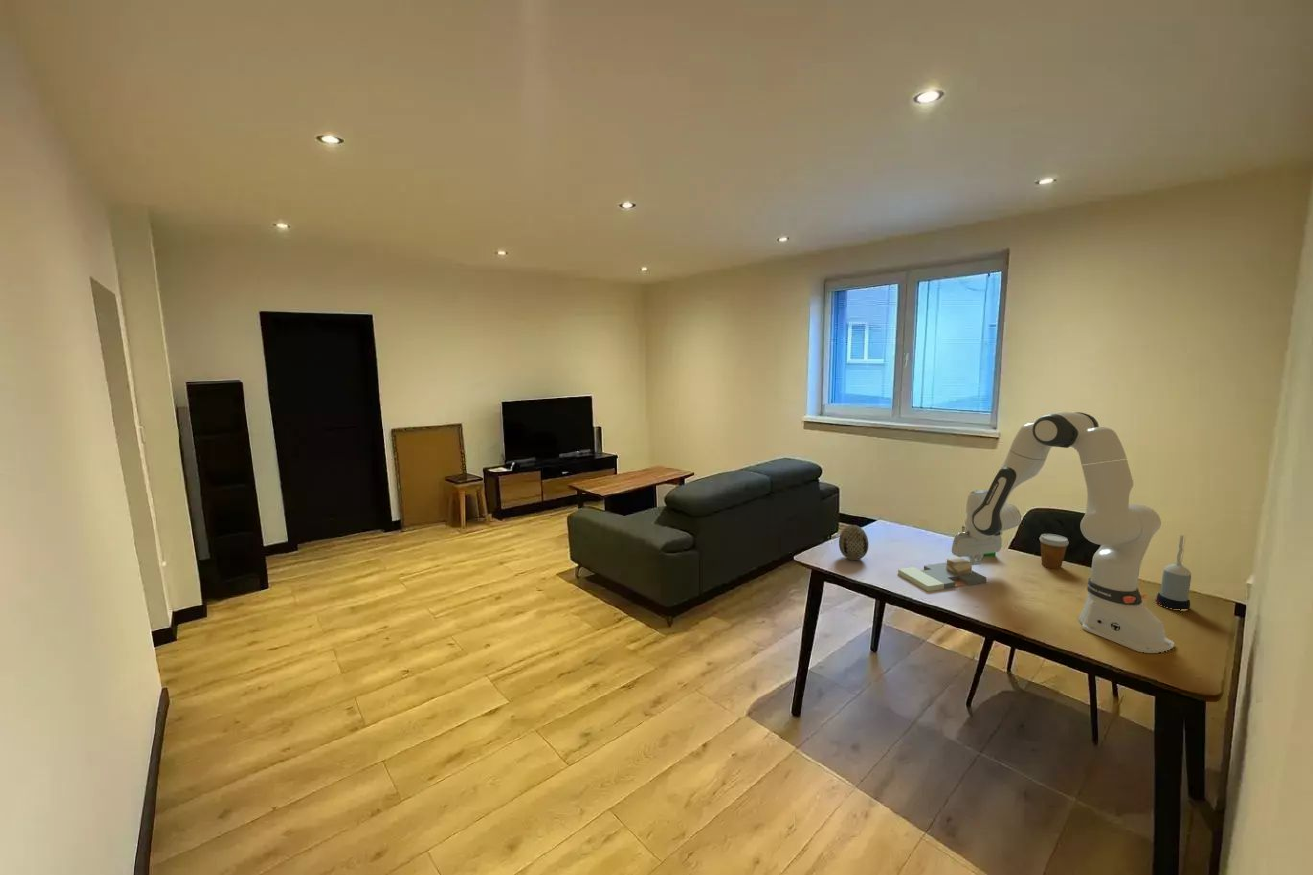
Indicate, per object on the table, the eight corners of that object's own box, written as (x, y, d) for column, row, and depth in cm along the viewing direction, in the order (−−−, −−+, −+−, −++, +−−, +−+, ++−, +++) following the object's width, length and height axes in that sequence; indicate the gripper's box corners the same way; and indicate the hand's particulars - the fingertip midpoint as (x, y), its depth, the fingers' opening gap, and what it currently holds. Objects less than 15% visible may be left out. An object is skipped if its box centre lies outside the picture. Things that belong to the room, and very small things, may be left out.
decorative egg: (857, 567, 215) (858, 532, 213) (832, 558, 225) (833, 524, 222) (873, 559, 222) (874, 525, 220) (848, 551, 231) (850, 519, 229)
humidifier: (1150, 602, 180) (1159, 533, 176) (1164, 598, 183) (1174, 529, 179) (1180, 613, 173) (1191, 541, 169) (1195, 608, 176) (1206, 537, 172)
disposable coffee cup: (1072, 570, 207) (1075, 541, 205) (1047, 570, 207) (1050, 541, 205) (1054, 561, 217) (1057, 533, 215) (1031, 561, 217) (1033, 533, 215)
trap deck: (986, 582, 199) (986, 577, 198) (927, 591, 193) (928, 586, 192) (953, 566, 214) (953, 561, 214) (897, 573, 208) (898, 569, 208)
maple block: (971, 572, 203) (972, 563, 202) (958, 574, 201) (959, 564, 201) (959, 566, 208) (959, 557, 208) (946, 568, 207) (946, 559, 206)
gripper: (961, 536, 199) (959, 570, 201) (1006, 530, 203) (1003, 564, 206) (948, 530, 205) (946, 564, 207) (992, 525, 209) (989, 558, 212)
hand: (975, 564), depth 206 cm, fingers closed
